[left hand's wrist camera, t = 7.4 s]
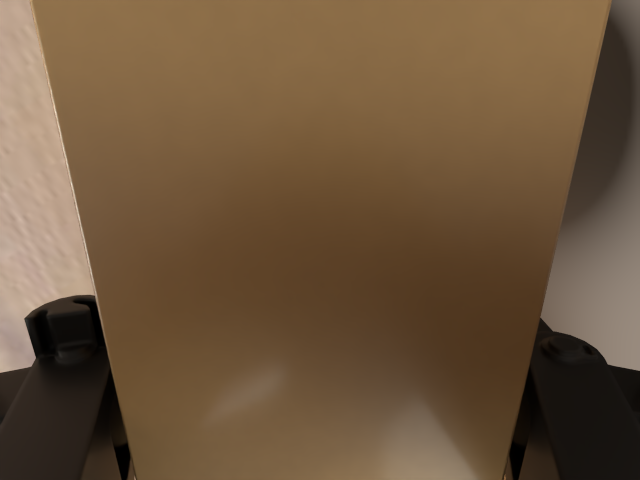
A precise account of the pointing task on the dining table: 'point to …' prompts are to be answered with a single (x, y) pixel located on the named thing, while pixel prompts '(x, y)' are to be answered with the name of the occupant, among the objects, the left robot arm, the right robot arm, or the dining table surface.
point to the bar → (320, 221)
